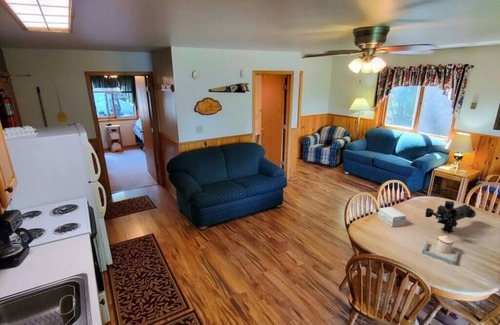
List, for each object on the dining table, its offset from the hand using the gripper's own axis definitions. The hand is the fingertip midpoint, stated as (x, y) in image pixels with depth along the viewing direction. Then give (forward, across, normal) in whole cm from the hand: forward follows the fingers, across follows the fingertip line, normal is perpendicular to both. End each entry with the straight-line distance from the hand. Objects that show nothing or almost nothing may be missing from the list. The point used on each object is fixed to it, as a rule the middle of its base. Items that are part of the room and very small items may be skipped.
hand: (431, 218), depth 204 cm
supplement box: (+5, -29, +17) cm, 34 cm away
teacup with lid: (+4, +14, +17) cm, 22 cm away
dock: (+11, +17, +16) cm, 26 cm away
